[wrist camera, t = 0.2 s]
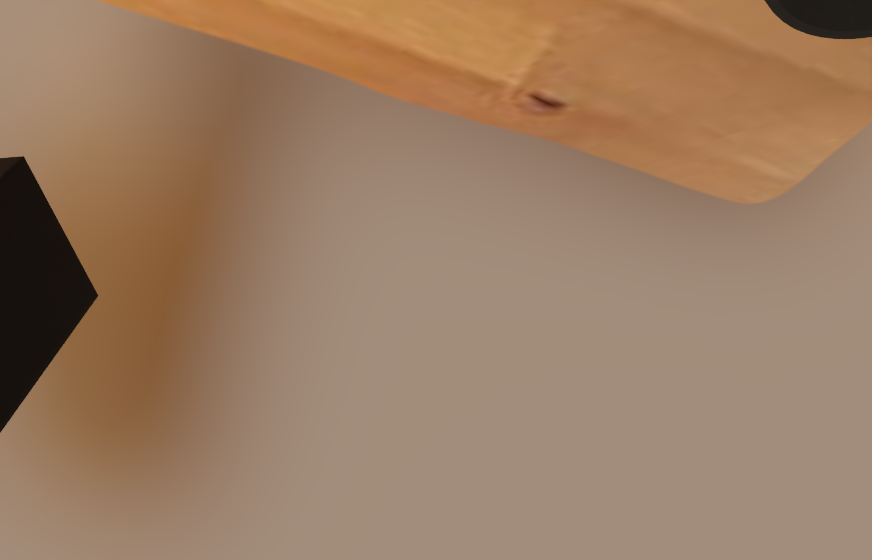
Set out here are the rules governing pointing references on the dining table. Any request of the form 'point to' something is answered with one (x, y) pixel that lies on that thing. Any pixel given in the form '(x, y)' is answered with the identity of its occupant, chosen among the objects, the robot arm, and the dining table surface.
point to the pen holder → (826, 17)
